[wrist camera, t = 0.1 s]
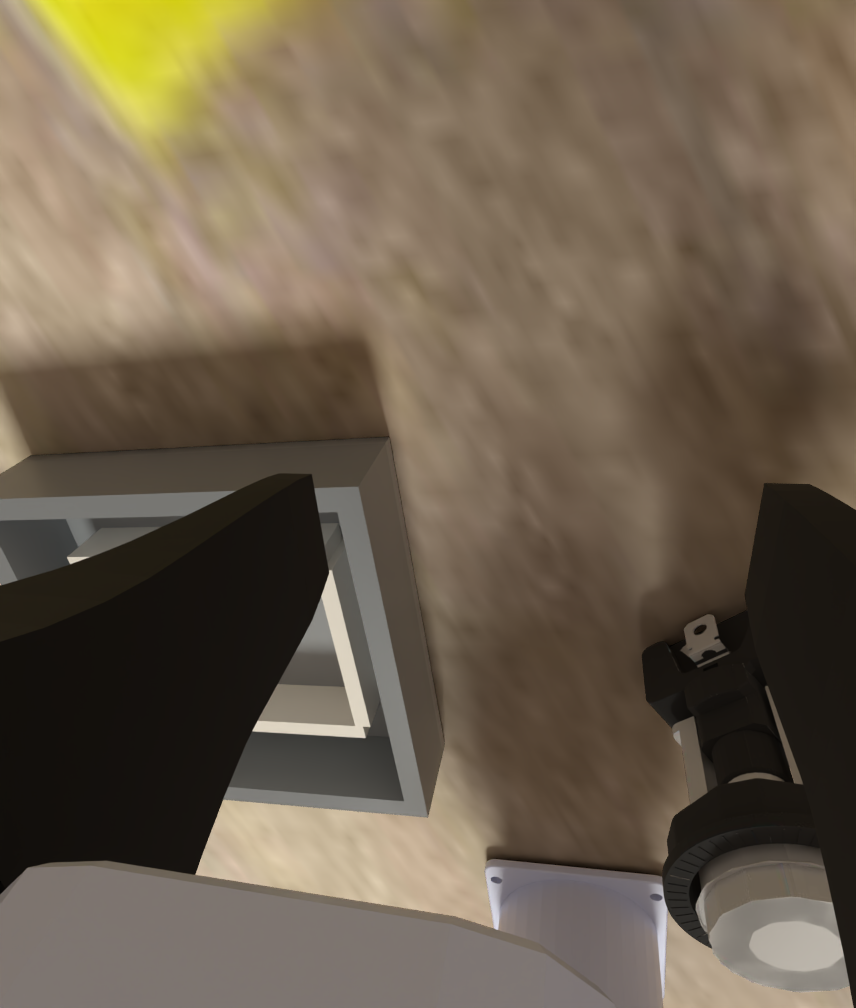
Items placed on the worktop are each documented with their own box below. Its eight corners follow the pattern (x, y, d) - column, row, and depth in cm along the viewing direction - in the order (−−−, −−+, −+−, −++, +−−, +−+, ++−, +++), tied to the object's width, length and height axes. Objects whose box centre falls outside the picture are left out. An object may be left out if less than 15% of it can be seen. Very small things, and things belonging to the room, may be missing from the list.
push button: (791, 533, 21) (931, 820, 12) (878, 647, 22) (1058, 976, 14) (608, 627, 24) (620, 907, 16) (694, 722, 25) (748, 1029, 17)
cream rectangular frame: (386, 699, 27) (373, 738, 26) (163, 689, 30) (137, 724, 28) (346, 522, 23) (328, 554, 22) (94, 528, 26) (59, 557, 24)
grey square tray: (444, 744, 29) (428, 817, 26) (153, 726, 32) (108, 789, 29) (389, 436, 22) (358, 486, 19) (30, 455, 25) (-43, 500, 23)
